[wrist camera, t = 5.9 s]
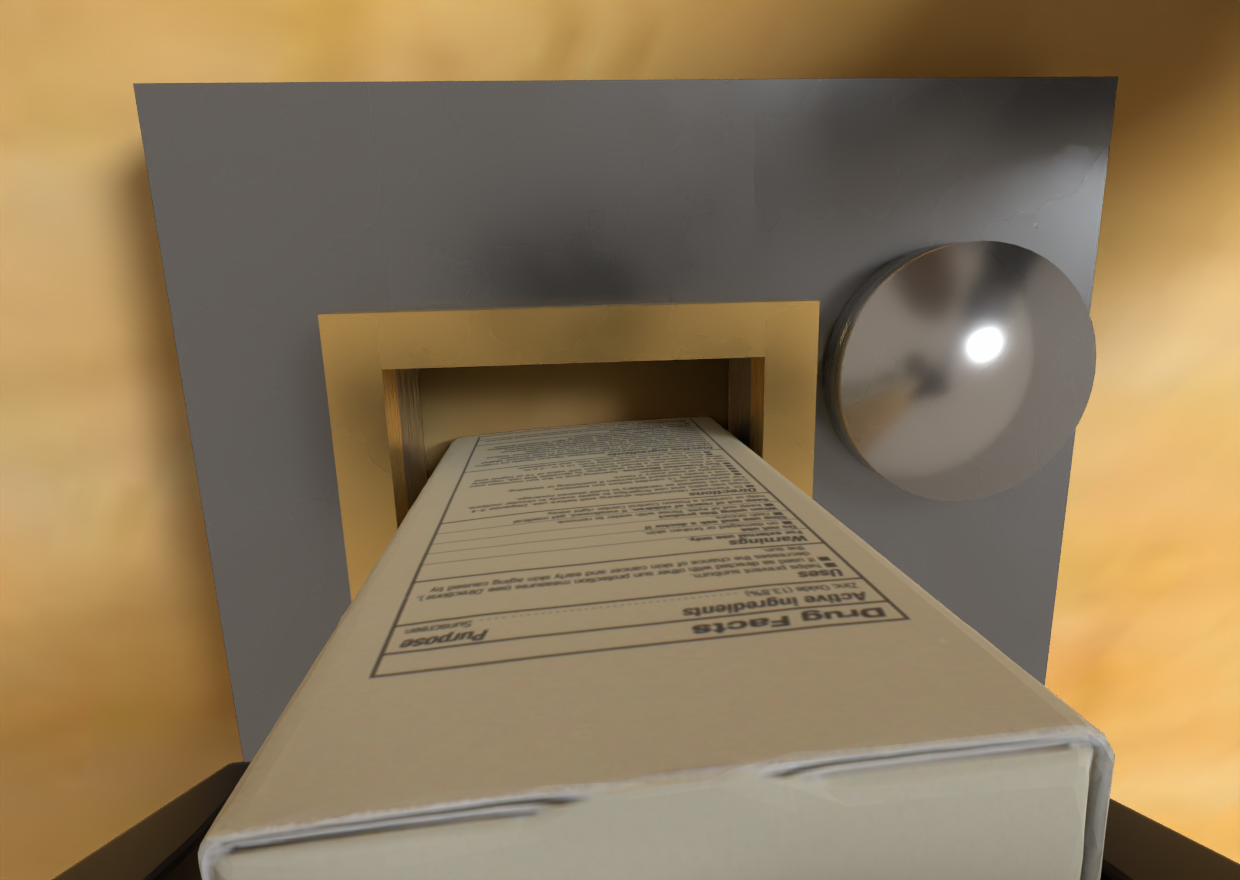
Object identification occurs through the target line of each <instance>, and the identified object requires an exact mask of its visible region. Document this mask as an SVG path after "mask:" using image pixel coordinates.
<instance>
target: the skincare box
mask: <svg viewBox="0 0 1240 880" xmlns="http://www.w3.org/2000/svg"><path fill="white" fill-rule="evenodd" d="M1114 759H1115V755H1114V752H1113V750H1112V748H1111V745H1110V743H1109V741H1108V740H1107V738H1106V736H1105V734H1104V733H1102V732H1101V731H1100V730H1099V729H1097V728H1096V727H1095V726H1093V725H1092V724H1091V723H1089V722H1088V721H1087V720H1086V719H1084V718H1083V717H1082V716H1081V715H1080V714H1078V713H1077V712H1076V711H1075V710H1073V709H1072V708H1071V707H1070V706H1069V705H1067V704H1066V703H1065V702H1064V701H1063V700H1061V699H1060V698H1059V697H1058V696H1056V695H1055V694H1054V693H1053V692H1051V691H1050V690H1049V689H1048V688H1046V687H1045V686H1044V685H1043V684H1041V683H1040V682H1039V681H1038V680H1036V679H1035V678H1034V677H1032V676H1031V675H1030V674H1029V673H1027V672H1026V671H1025V670H1024V669H1022V668H1021V667H1020V666H1019V665H1017V664H1016V663H1015V662H1014V661H1012V660H1011V659H1010V658H1009V657H1007V656H1006V655H1005V654H1004V653H1002V652H1001V651H1000V650H999V649H998V648H996V647H995V646H994V645H993V644H992V643H990V642H989V641H988V640H987V639H986V638H984V637H983V636H982V635H981V634H979V633H978V632H977V631H976V630H975V629H973V628H972V627H970V626H969V625H968V624H966V623H965V622H964V621H962V620H961V619H960V618H959V617H957V616H956V615H955V614H954V613H952V612H951V611H950V610H949V609H948V608H946V607H945V606H944V605H943V604H941V603H940V602H939V601H938V600H936V599H935V598H934V597H933V596H932V595H930V594H929V593H928V592H927V591H925V590H924V589H923V588H922V587H920V586H919V585H918V584H917V583H916V582H914V581H913V580H912V579H911V578H909V577H908V576H907V575H906V574H904V573H903V572H902V571H901V570H899V569H898V568H897V567H896V566H894V565H893V564H892V563H891V562H890V561H888V560H887V559H886V558H885V557H883V556H882V555H881V554H880V553H878V552H877V551H876V550H875V549H874V548H872V547H871V546H870V545H869V544H867V543H866V542H865V541H864V540H863V539H861V538H860V537H859V536H858V535H856V534H855V533H854V532H853V531H851V530H850V529H849V528H848V527H846V526H845V525H844V524H843V523H841V522H840V521H839V520H838V519H836V518H835V517H834V516H833V515H831V514H830V513H829V512H828V511H826V510H825V509H824V508H823V507H822V506H820V505H819V504H818V503H817V502H815V501H814V500H813V499H812V498H810V497H809V496H808V495H807V494H806V493H804V492H803V491H802V490H801V489H799V488H798V487H797V486H796V485H794V484H793V483H792V482H791V481H789V480H788V479H787V478H785V477H784V476H783V475H782V474H780V473H779V472H778V471H777V470H775V469H774V468H773V467H772V466H771V465H769V464H768V463H767V462H766V461H764V460H763V459H762V458H761V457H759V456H758V455H757V454H756V453H755V452H753V451H752V450H751V449H749V448H748V447H747V446H746V445H744V444H743V443H742V442H741V441H740V440H738V439H737V438H736V437H734V436H733V435H732V434H731V433H730V432H728V431H727V430H726V429H724V428H723V427H722V426H721V425H720V424H718V423H717V422H716V421H715V420H713V419H712V418H709V417H688V418H666V419H651V420H634V421H619V422H606V423H594V424H583V425H572V426H560V427H549V428H539V429H529V430H519V431H510V432H501V433H493V434H485V435H477V436H467V437H461V438H457V439H454V440H453V441H452V443H451V444H450V446H449V448H448V449H447V451H446V452H445V454H444V456H443V457H442V459H441V460H440V462H439V464H438V465H437V467H436V469H435V470H434V472H433V473H432V475H431V477H430V478H429V480H428V482H427V483H426V485H425V486H424V488H423V489H422V491H421V492H420V494H419V496H418V498H417V499H416V501H415V502H414V504H413V505H412V507H411V508H410V510H409V511H408V513H407V515H406V516H405V518H404V520H403V521H402V523H401V525H400V526H399V528H398V529H397V531H396V533H395V535H394V536H393V538H392V539H391V541H390V543H389V544H388V546H387V547H386V549H385V550H384V552H383V553H382V555H381V556H380V558H379V559H378V561H377V562H376V564H375V566H374V567H373V569H372V570H371V572H370V573H369V575H368V577H367V579H366V580H365V582H364V584H363V585H362V587H361V588H360V590H359V591H358V593H357V595H356V596H355V598H354V599H353V601H352V603H351V604H350V606H349V607H348V609H347V610H346V612H345V613H344V614H343V616H342V617H341V619H340V621H339V623H338V625H337V627H336V629H335V630H334V632H333V633H332V635H331V636H330V638H329V640H328V641H327V643H326V644H325V646H324V648H323V649H322V651H321V652H320V654H319V655H318V657H317V658H316V660H315V662H314V663H313V665H312V666H311V668H310V670H309V671H308V673H307V675H306V676H305V678H304V679H303V681H302V683H301V684H300V686H299V687H298V689H297V690H296V692H295V693H294V695H293V696H292V698H291V700H290V701H289V703H288V704H287V706H286V708H285V709H284V711H283V712H282V714H281V716H280V717H279V719H278V720H277V722H276V724H275V725H274V727H273V729H272V730H271V732H270V733H269V735H268V736H267V738H266V740H265V741H264V743H263V744H262V746H261V747H260V749H259V751H258V752H257V754H256V755H255V757H254V758H253V760H252V762H251V763H250V765H249V766H248V768H247V769H246V771H245V773H244V774H243V776H242V777H241V779H240V781H239V782H238V784H237V785H236V787H235V789H234V790H233V792H232V793H231V795H230V796H229V798H228V800H227V801H226V803H225V804H224V806H223V808H222V809H221V811H220V812H219V814H218V816H217V817H216V819H215V821H214V822H213V824H212V826H211V827H210V829H209V831H208V832H207V834H206V835H205V837H204V839H203V840H202V842H201V844H200V847H199V851H198V863H199V868H200V873H201V878H202V880H1100V878H1101V868H1102V859H1103V849H1104V840H1105V831H1106V823H1107V815H1108V807H1109V799H1110V791H1111V783H1112V775H1113V767H1114Z"/></svg>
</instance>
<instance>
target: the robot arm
mask: <svg viewBox="0 0 1240 880" xmlns="http://www.w3.org/2000/svg"><path fill="white" fill-rule="evenodd" d="M251 762H252V761H251ZM251 762H236V763H231V764H228V765H226V766H225V767H223V768H222V769H220V770H219V771H217V772H216V773H214V774H212V775H211V776H209V777H208V778H206V779H205V780H203V781H202V782H200V783H199V784H197V785H196V786H194V787H193V788H191V789H190V790H188V791H187V792H185V793H183V794H182V795H180V796H179V797H177V798H176V799H174V800H173V801H171V802H170V803H168V804H167V805H165V806H164V807H162V808H161V809H159V810H158V811H156V812H154V813H153V814H151V815H150V816H148V817H147V818H145V819H144V820H142V821H141V822H139V823H138V824H136V825H135V826H133V827H132V828H130V829H129V830H127V831H125V832H124V833H122V834H121V835H119V836H118V837H116V838H115V839H113V840H112V841H110V842H109V843H107V844H106V845H104V846H103V847H101V848H100V849H98V850H96V851H95V852H93V853H92V854H90V855H89V856H87V857H86V858H84V859H83V860H81V861H80V862H78V863H77V864H75V865H74V866H72V867H70V868H69V869H67V870H66V871H64V872H63V873H61V874H60V875H58V876H57V877H55V878H54V879H52V880H202V878H201V873H200V868H199V863H198V851H199V847H200V844H201V842H202V840H203V839H204V837H205V835H206V834H207V832H208V831H209V829H210V827H211V826H212V824H213V822H214V821H215V819H216V817H217V816H218V814H219V812H220V811H221V809H222V808H223V806H224V804H225V803H226V801H227V800H228V798H229V796H230V795H231V793H232V792H233V790H234V789H235V787H236V785H237V784H238V782H239V781H240V779H241V777H242V776H243V774H244V773H245V771H246V769H247V768H248V766H249V765H250V763H251ZM1100 880H1240V864H1239V863H1237V862H1235V861H1233V860H1231V859H1229V858H1227V857H1225V856H1223V855H1221V854H1219V853H1217V852H1215V851H1213V850H1211V849H1209V848H1207V847H1205V846H1203V845H1201V844H1199V843H1197V842H1195V841H1193V840H1191V839H1189V838H1187V837H1185V836H1183V835H1181V834H1180V833H1178V832H1176V831H1174V830H1172V829H1170V828H1168V827H1166V826H1164V825H1162V824H1160V823H1158V822H1156V821H1154V820H1152V819H1150V818H1148V817H1146V816H1144V815H1142V814H1140V813H1138V812H1136V811H1134V810H1132V809H1130V808H1128V807H1126V806H1124V805H1122V804H1120V803H1118V802H1116V801H1114V800H1112V799H1109V807H1108V815H1107V823H1106V831H1105V840H1104V849H1103V859H1102V868H1101V878H1100Z"/></svg>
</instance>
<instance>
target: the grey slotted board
mask: <svg viewBox="0 0 1240 880" xmlns="http://www.w3.org/2000/svg"><path fill="white" fill-rule="evenodd" d="M1117 81H1118V77H982V78H842V79H702V80H562V81H423V82H283V83H143V84H133V85H134V91H135V97H136V104H137V110H138V116H139V122H140V128H141V134H142V140H143V146H144V153H145V159H146V165H147V171H148V177H149V183H150V189H151V196H152V202H153V208H154V214H155V220H156V226H157V232H158V239H159V245H160V251H161V257H162V263H163V269H164V275H165V281H166V288H167V294H168V300H169V306H170V312H171V318H172V324H173V331H174V337H175V343H176V349H177V355H178V361H179V367H180V374H181V380H182V386H183V392H184V398H185V404H186V410H187V416H188V423H189V429H190V435H191V441H192V447H193V453H194V459H195V466H196V472H197V478H198V484H199V490H200V496H201V502H202V509H203V515H204V521H205V527H206V533H207V539H208V545H209V551H210V558H211V564H212V570H213V576H214V582H215V588H216V594H217V601H218V607H219V613H220V619H221V625H222V631H223V637H224V644H225V650H226V656H227V662H228V668H229V674H230V680H231V687H232V693H233V699H234V705H235V711H236V717H237V723H238V729H239V736H240V742H241V748H242V754H243V760H244V762H251V761H252V760H253V758H254V757H255V755H256V754H257V752H258V751H259V749H260V747H261V746H262V744H263V743H264V741H265V740H266V738H267V736H268V735H269V733H270V732H271V730H272V729H273V727H274V725H275V724H276V722H277V720H278V719H279V717H280V716H281V714H282V712H283V711H284V709H285V708H286V706H287V704H288V703H289V701H290V700H291V698H292V696H293V695H294V693H295V692H296V690H297V689H298V687H299V686H300V684H301V683H302V681H303V679H304V678H305V676H306V675H307V673H308V671H309V670H310V668H311V666H312V665H313V663H314V662H315V660H316V658H317V657H318V655H319V654H320V652H321V651H322V649H323V648H324V646H325V644H326V643H327V641H328V640H329V638H330V636H331V635H332V633H333V632H334V630H335V629H336V627H337V625H338V623H339V621H340V619H341V617H342V616H343V614H344V613H345V612H346V610H347V609H348V607H349V606H350V604H351V603H352V601H353V599H354V598H355V596H356V595H357V593H358V591H359V590H360V588H361V587H362V585H363V584H364V582H365V580H366V579H367V577H368V575H369V573H370V572H371V570H372V569H373V567H374V566H375V564H376V562H377V561H378V559H379V558H380V556H381V555H382V553H383V552H384V550H385V549H386V547H387V546H388V544H389V543H390V541H391V539H392V538H393V536H394V535H395V533H396V531H397V529H398V528H399V526H400V525H401V523H402V521H403V520H404V518H405V516H406V515H407V513H408V511H409V510H410V508H411V507H412V505H413V504H414V502H415V501H416V499H417V498H418V496H419V494H420V492H421V491H422V489H423V488H424V486H425V485H426V483H427V471H426V460H425V448H424V437H423V426H422V414H421V403H420V392H419V380H418V369H417V368H442V367H472V366H502V365H533V364H563V363H594V362H624V361H654V360H685V359H715V358H729V422H728V432H730V433H731V434H732V435H733V436H734V437H736V438H737V439H738V440H740V441H741V442H742V443H743V444H744V445H746V446H747V447H748V448H749V449H751V450H752V451H753V452H755V453H756V454H757V455H758V456H759V457H761V458H762V459H763V460H764V461H766V462H767V463H768V464H769V465H771V466H772V467H773V468H774V469H775V470H777V471H778V472H779V473H780V474H782V475H783V476H784V477H785V478H787V479H788V480H789V481H791V482H792V483H793V484H794V485H796V486H797V487H798V488H799V489H801V490H802V491H803V492H804V493H806V494H807V495H808V496H809V497H810V498H812V499H813V500H814V501H815V502H817V503H818V504H819V505H820V506H822V507H823V508H824V509H825V510H826V511H828V512H829V513H830V514H831V515H833V516H834V517H835V518H836V519H838V520H839V521H840V522H841V523H843V524H844V525H845V526H846V527H848V528H849V529H850V530H851V531H853V532H854V533H855V534H856V535H858V536H859V537H860V538H861V539H863V540H864V541H865V542H866V543H867V544H869V545H870V546H871V547H872V548H874V549H875V550H876V551H877V552H878V553H880V554H881V555H882V556H883V557H885V558H886V559H887V560H888V561H890V562H891V563H892V564H893V565H894V566H896V567H897V568H898V569H899V570H901V571H902V572H903V573H904V574H906V575H907V576H908V577H909V578H911V579H912V580H913V581H914V582H916V583H917V584H918V585H919V586H920V587H922V588H923V589H924V590H925V591H927V592H928V593H929V594H930V595H932V596H933V597H934V598H935V599H936V600H938V601H939V602H940V603H941V604H943V605H944V606H945V607H946V608H948V609H949V610H950V611H951V612H952V613H954V614H955V615H956V616H957V617H959V618H960V619H961V620H962V621H964V622H965V623H966V624H968V625H969V626H970V627H972V628H973V629H975V630H976V631H977V632H978V633H979V634H981V635H982V636H983V637H984V638H986V639H987V640H988V641H989V642H990V643H992V644H993V645H994V646H995V647H996V648H998V649H999V650H1000V651H1001V652H1002V653H1004V654H1005V655H1006V656H1007V657H1009V658H1010V659H1011V660H1012V661H1014V662H1015V663H1016V664H1017V665H1019V666H1020V667H1021V668H1022V669H1024V670H1025V671H1026V672H1027V673H1029V674H1030V675H1031V676H1032V677H1034V678H1035V679H1036V680H1038V681H1039V682H1040V683H1041V684H1043V685H1044V686H1045V678H1046V670H1047V661H1048V653H1049V645H1050V636H1051V628H1052V620H1053V612H1054V603H1055V595H1056V587H1057V578H1058V570H1059V562H1060V554H1061V545H1062V537H1063V529H1064V520H1065V512H1066V504H1067V496H1068V487H1069V479H1070V471H1071V462H1072V454H1073V446H1074V438H1075V429H1076V426H1077V425H1078V423H1079V421H1080V419H1081V417H1082V415H1083V412H1084V410H1085V408H1086V406H1087V403H1088V400H1089V396H1090V393H1091V390H1092V386H1093V380H1094V375H1095V365H1096V345H1095V336H1094V331H1093V326H1092V321H1091V318H1090V316H1089V313H1090V305H1091V297H1092V288H1093V280H1094V272H1095V264H1096V255H1097V247H1098V239H1099V230H1100V222H1101V214H1102V206H1103V197H1104V189H1105V181H1106V172H1107V164H1108V156H1109V148H1110V139H1111V131H1112V123H1113V114H1114V106H1115V98H1116V90H1117Z"/></svg>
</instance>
